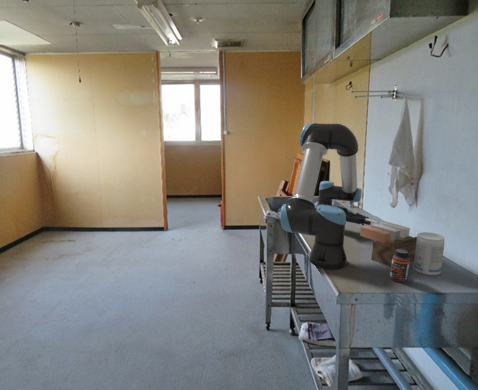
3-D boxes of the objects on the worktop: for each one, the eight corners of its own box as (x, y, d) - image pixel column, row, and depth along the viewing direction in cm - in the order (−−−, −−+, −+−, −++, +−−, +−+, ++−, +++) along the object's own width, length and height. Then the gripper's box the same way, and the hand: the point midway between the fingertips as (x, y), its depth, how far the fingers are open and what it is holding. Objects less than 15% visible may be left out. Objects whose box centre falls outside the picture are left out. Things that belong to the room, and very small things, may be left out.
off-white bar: (379, 230, 160) (380, 222, 160) (384, 229, 163) (385, 221, 162) (403, 238, 151) (404, 229, 150) (408, 236, 153) (409, 228, 152)
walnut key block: (371, 259, 147) (373, 236, 145) (400, 250, 159) (402, 228, 156) (393, 268, 139) (396, 243, 137) (422, 258, 150) (425, 235, 148)
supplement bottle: (388, 280, 128) (391, 251, 125) (391, 274, 133) (394, 246, 130) (406, 284, 125) (410, 255, 122) (408, 278, 130) (411, 250, 127)
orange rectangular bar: (359, 235, 153) (360, 226, 152) (365, 234, 155) (366, 225, 154) (383, 243, 143) (384, 234, 142) (389, 241, 145) (390, 232, 144)
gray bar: (369, 233, 157) (370, 224, 156) (375, 231, 159) (376, 223, 158) (394, 240, 147) (395, 231, 146) (399, 239, 149) (400, 230, 148)
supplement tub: (440, 269, 139) (445, 234, 136) (440, 278, 130) (446, 241, 127) (413, 264, 143) (417, 230, 140) (412, 272, 135) (417, 236, 132)
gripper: (346, 218, 187) (384, 230, 168) (329, 221, 180) (367, 234, 161) (347, 205, 186) (386, 215, 166) (330, 208, 179) (369, 218, 159)
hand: (377, 224), depth 164 cm, fingers closed
